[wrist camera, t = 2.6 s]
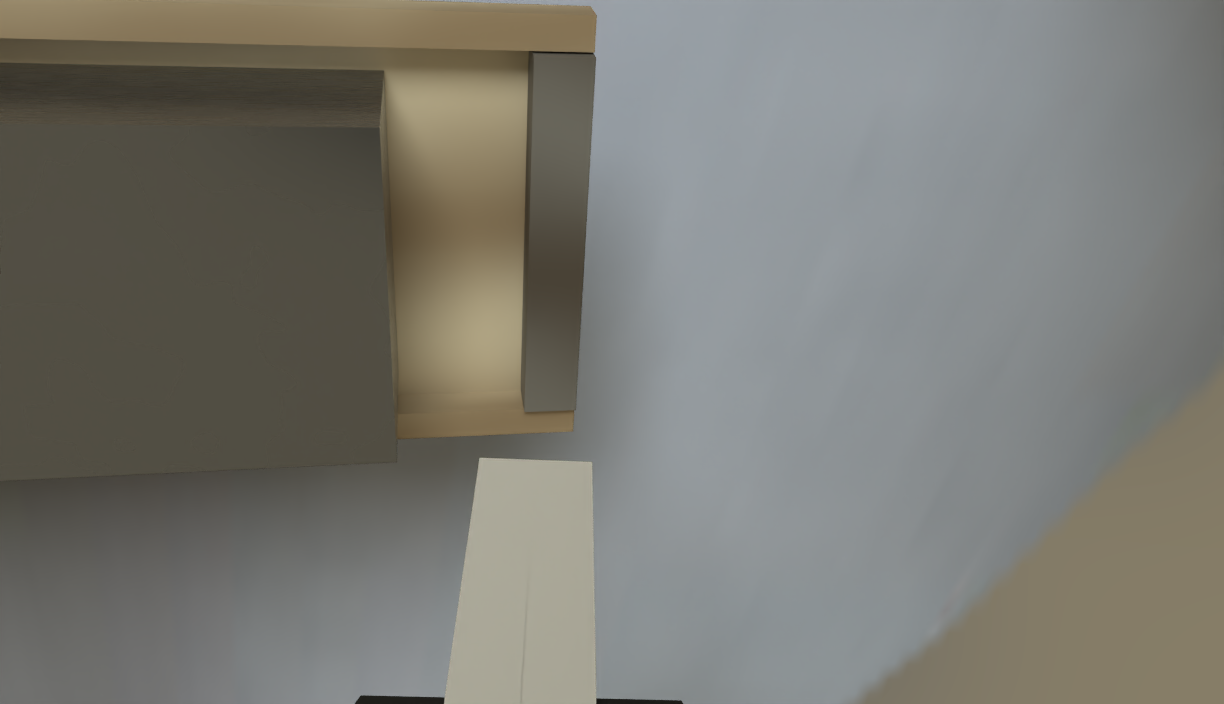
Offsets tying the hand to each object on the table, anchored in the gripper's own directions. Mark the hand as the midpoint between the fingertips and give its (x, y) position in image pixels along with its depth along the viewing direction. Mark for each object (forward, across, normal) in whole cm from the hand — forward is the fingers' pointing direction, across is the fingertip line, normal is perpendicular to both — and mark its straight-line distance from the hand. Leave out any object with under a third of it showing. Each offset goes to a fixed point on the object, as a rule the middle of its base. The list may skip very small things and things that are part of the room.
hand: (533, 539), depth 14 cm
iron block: (+9, -8, 0) cm, 12 cm away
